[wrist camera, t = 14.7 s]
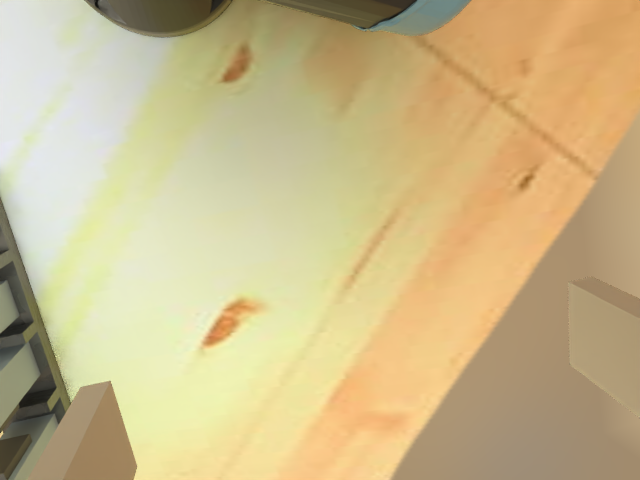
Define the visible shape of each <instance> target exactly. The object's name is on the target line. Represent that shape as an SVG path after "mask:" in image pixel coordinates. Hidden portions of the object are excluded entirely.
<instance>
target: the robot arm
mask: <svg viewBox="0 0 640 480" xmlns="http://www.w3.org/2000/svg"><path fill="white" fill-rule="evenodd" d="M84 1H86V2H87V3H88V4H89V5H90V6H91V7H92V8H93V9H95V10H96V11H97V12H99V13H100V14H101V15H103V16H104V17H106V18H107V19H108V20H110V21H112V22H113V23H115V24H117V25H118V26H120V27H122V28H125V29H127V30H129V31H132V32H135V33H138V34H142V35H147V36H153V37H174V36H180V35H185V34H188V33H191V32H194V31H196V30H199V29H201V28H203V27H204V26H206V25H208V24H209V23H211V22H212V21H213V20H215V19H216V18H217V17H218V16H219V15H220V14H221V13H222V12H223V11H224V10H225V9H226V8H227V7H228V5H229V4H230V3H231V1H232V0H84ZM259 1H263V2H267V3H271V4H275V5H279V6H282V7H286V8H290V9H294V10H298V11H302V12H306V13H310V14H313V15H317V16H321V17H325V18H329V19H333V20H337V21H341V22H344V23H348V24H351V25H352V26H353V27H355V28H357V29H359V30H362V31H367V30H369V31H372V32H373V31H379V30H381V31H385V32H390V33H395V34H400V35H405V36H418V35H424V34H428V33H431V32H433V31H435V30H437V29H439V28H441V27H442V26H444V25H445V24H447V23H448V22H449V21H451V20H452V19H453V18H454V17H455V16H457V15H458V14H459V13H460V12H461V11H462V10H463V9H464V8H465V7H466V6H467V5H468V3H469V2H470V1H471V0H259ZM568 295H569V296H568V299H569V300H568V301H569V357H570V358H569V363H570V365H571V366H572V367H573V368H575V369H576V370H578V371H579V372H580V373H581V374H583V375H584V376H585V377H587V378H588V379H589V380H590V381H592V382H593V383H594V384H596V385H597V386H598V387H600V388H601V389H602V390H604V391H605V392H606V393H608V394H609V395H610V396H611V397H613V398H614V399H615V400H617V401H618V402H619V403H620V404H622V405H623V406H624V407H626V408H627V409H628V410H630V411H631V412H632V413H634V414H635V415H636V416H637V417H639V418H640V299H639V298H637V297H635V296H632V295H630V294H628V293H626V292H624V291H621V290H620V289H618V288H615V287H613V286H611V285H609V284H607V283H605V282H602V281H600V280H598V279H596V278H594V277H588V278H583V279H579V280H574V281H569V282H568ZM136 469H137V464H136V461H135V458H134V455H133V452H132V448H131V445H130V442H129V439H128V436H127V432H126V429H125V426H124V423H123V419H122V416H121V413H120V410H119V407H118V403H117V400H116V397H115V394H114V391H113V387H112V384H111V381H107V382H102V383H98V384H93V385H88V386H84V387H80V389H79V391H78V392H77V394H76V396H75V398H74V399H73V401H72V403H71V405H70V406H69V408H68V410H67V411H66V413H65V415H64V417H63V418H62V420H61V422H60V424H59V425H58V427H57V429H56V430H55V432H54V434H53V436H52V437H51V439H50V441H49V443H48V444H47V446H46V448H45V449H44V451H43V453H42V455H41V456H40V458H39V460H38V462H37V463H36V465H35V467H34V469H33V470H32V472H31V474H30V475H29V477H28V479H27V480H133V479H134V476H135V473H136Z"/></svg>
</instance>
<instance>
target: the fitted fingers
mask: <svg viewBox="0 0 640 480" xmlns="http://www.w3.org/2000/svg"><path fill="white" fill-rule="evenodd" d="M19 316H20V315H19V312H18V309H17V306H16V304H15V301H14V298H13V295H12V292H11V290H10V287H9V284H8V281H7V280H5V281H0V333H1V332H2V331H4V330H5V329H6V328H7V327H8V326H9V325H10V324H11V323H12V322H13V321H14V320H15V319H17V318H18V317H19ZM57 427H58V422H57V419H56V416H55V414H50V415H45V416H41V417H36V418H32V419H27V420H23V421H18V422H14V423H11V424H10V426H9V427H8V428H7V430H6V431H5V432H4V434H3V435H2V437H1V438H0V480H27V479H28V477H29V475H30V474H31V472H32V470H33V469H34V467H35V465H36V463H37V462H38V460H39V458H40V456H41V455H42V453H43V451H44V449H45V448H46V446H47V444H48V443H49V441H50V439H51V437H52V436H53V434H54V432H55V430H56V429H57Z"/></svg>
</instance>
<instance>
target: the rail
mask: <svg viewBox="0 0 640 480" xmlns="http://www.w3.org/2000/svg"><path fill="white" fill-rule="evenodd" d="M5 280H7V281H8V284H9V287H10V290H11V292H12V295H13V298H14V301H15V304H16V306H17V309H18V312H19V315H20V316H19V317H18V318H17V319H15V320H14V321H13V322H12V323H11V324H10V325H9V326H8V327H7V328H6V329H5V330H4V331H2V332H1V333H0V349H2V348H7V347H12V346H17V345H22V344H26V343H27V342H28V341H29V344H30V347H31V349H32V352H33V355H34V357H35V360H36V363H37V366H38V368H39V371H40V376H39V377H38V378H37V380H36V381H35V382H34V384H33V385H32V386H31V388H30V389H29V390H28V391H27V393H26V394H25V395H24V397H23V398H22V399H21V401H20V402H19V406H20V407H19V409H18V410H17V411H16V413H15V414H14V415H13V417H12V418H11V420H10V421H9V422H8V424H7V425H6V426H5V428H4V429H3V433H4V432H5V431H6V430H7V428H8V427H9V426H10V424H11V423H14V422H18V421H23V420H27V419H32V418H36V417H41V416H45V415H50V414H55V416H56V419H57V422H58V425H59V424H60V422H61V420H62V418H63V417H64V415H65V413H66V411H67V410H68V408H69V406H70V405H71V403H70V400H69V398H68V395H67V392H66V389H65V386H64V383H63V380H62V377H61V374H60V371H59V368H58V365H57V362H56V359H55V357H54V354H53V351H52V348H51V345H50V342H49V339H48V336H47V333H46V330H45V327H44V324H43V321H42V319H41V316H40V313H39V310H38V307H37V304H36V301H35V298H34V295H33V292H32V289H31V286H30V283H29V280H28V278H27V275H26V272H25V269H24V266H23V263H22V260H21V257H20V254H19V251H18V248H17V245H16V242H15V239H14V237H13V234H12V231H11V228H10V225H9V222H8V219H7V216H6V213H5V210H4V207H3V204H2V201H1V199H0V281H5Z"/></svg>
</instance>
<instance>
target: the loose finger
mask: <svg viewBox="0 0 640 480" xmlns="http://www.w3.org/2000/svg"><path fill="white" fill-rule="evenodd" d="M39 376H40V371H39V368H38V366H37V363H36V360H35V357H34V355H33V352H32V349H31V347H30V344H29V341H28V342H27V343H26V344H22V345H17V346H12V347H7V348H2V349H0V433H1V432H2V430H3V429H4V428H5V426H6V425H7V424H8V422H9V421H10V420H11V418H12V417H13V415H14V414H15V413H16V411H17V410H18V409H19V407H20V406H19V402H20V401H21V399H22V398H23V397H24V395H25V394H26V393H27V391H28V390H29V389H30V388H31V386H32V385H33V384H34V382H35V381H36V380H37V378H38V377H39Z"/></svg>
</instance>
